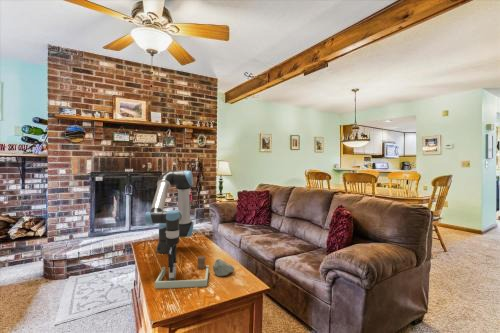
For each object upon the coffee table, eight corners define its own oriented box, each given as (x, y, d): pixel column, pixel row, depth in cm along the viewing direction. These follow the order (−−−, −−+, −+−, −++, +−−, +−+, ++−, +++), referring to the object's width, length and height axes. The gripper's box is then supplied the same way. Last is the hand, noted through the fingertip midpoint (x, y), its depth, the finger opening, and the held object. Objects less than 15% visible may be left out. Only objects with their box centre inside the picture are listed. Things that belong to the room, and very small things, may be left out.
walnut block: (198, 266, 168) (198, 255, 168) (204, 265, 168) (205, 255, 168) (197, 269, 163) (197, 258, 163) (204, 268, 164) (204, 258, 164)
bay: (162, 273, 156) (162, 266, 155) (209, 272, 159) (209, 265, 159) (154, 288, 137) (154, 280, 137) (207, 286, 141) (207, 278, 141)
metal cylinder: (169, 277, 151) (169, 266, 151) (176, 277, 151) (176, 265, 151) (168, 280, 147) (168, 268, 147) (175, 280, 147) (175, 268, 147)
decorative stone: (212, 278, 150) (222, 266, 149) (209, 265, 159) (218, 254, 158) (228, 284, 156) (238, 272, 155) (224, 271, 165) (233, 260, 164)
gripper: (169, 233, 157) (168, 270, 157) (162, 241, 140) (162, 282, 140) (181, 232, 158) (180, 269, 158) (176, 241, 141) (176, 282, 141)
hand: (172, 275), depth 149 cm, fingers closed on metal cylinder, 4 cm apart
